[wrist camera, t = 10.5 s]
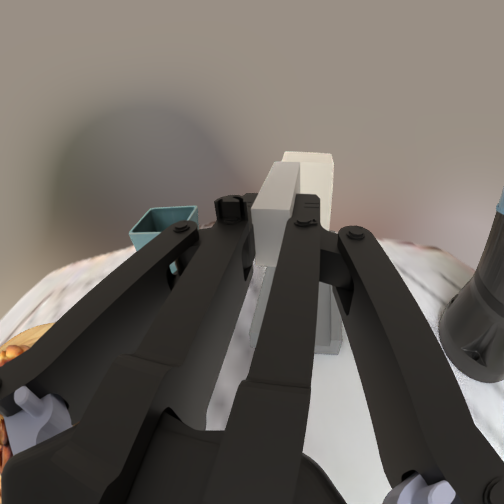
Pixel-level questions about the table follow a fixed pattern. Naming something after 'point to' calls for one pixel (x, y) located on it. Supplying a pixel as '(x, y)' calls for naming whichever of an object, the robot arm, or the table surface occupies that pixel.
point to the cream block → (315, 179)
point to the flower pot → (160, 224)
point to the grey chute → (327, 317)
